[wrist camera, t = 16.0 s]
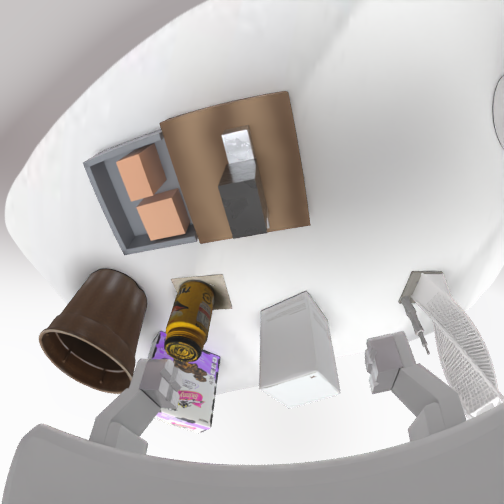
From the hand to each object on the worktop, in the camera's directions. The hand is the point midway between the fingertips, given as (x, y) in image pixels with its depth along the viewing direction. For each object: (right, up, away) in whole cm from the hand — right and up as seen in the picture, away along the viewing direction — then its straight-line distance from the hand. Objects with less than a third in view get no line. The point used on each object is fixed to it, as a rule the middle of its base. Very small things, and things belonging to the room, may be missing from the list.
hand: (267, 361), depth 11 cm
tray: (-14, +13, +24) cm, 31 cm away
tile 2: (-12, +14, +19) cm, 27 cm away
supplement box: (+7, -7, +37) cm, 38 cm away
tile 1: (-12, +10, +25) cm, 30 cm away
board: (-2, +15, +22) cm, 27 cm away
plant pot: (-25, -3, +36) cm, 44 cm away
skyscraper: (+30, -1, +32) cm, 44 cm away
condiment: (-9, -2, +35) cm, 36 cm away
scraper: (-1, +13, +20) cm, 24 cm away
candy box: (-14, -16, +44) cm, 49 cm away
